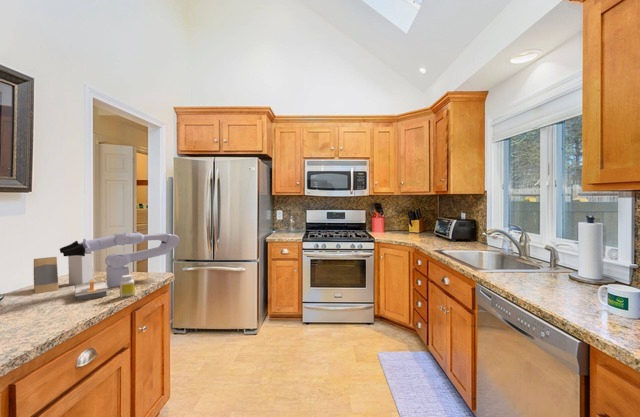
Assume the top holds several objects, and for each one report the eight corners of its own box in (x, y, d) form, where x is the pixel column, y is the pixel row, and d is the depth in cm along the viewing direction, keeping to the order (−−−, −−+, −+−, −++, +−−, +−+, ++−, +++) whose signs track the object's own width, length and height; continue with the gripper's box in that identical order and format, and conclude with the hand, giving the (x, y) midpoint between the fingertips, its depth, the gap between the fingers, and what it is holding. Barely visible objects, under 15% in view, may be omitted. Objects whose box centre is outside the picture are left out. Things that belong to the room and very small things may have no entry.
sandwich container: (33, 296, 130) (32, 263, 129) (34, 288, 140) (33, 258, 140) (59, 291, 136) (58, 260, 135) (57, 285, 146) (56, 256, 146)
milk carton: (82, 284, 146) (81, 248, 146) (68, 284, 146) (67, 248, 146) (93, 281, 153) (92, 246, 153) (80, 281, 153) (79, 246, 153)
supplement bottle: (137, 296, 128) (137, 275, 128) (124, 300, 123) (124, 277, 123) (130, 294, 130) (129, 273, 130) (117, 298, 125) (116, 276, 125)
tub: (104, 289, 138) (103, 282, 138) (106, 297, 127) (106, 289, 127) (76, 294, 131) (76, 286, 131) (77, 302, 121) (77, 294, 121)
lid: (105, 283, 139) (105, 273, 138) (108, 291, 126) (108, 280, 125) (75, 288, 131) (74, 277, 131) (75, 297, 118) (75, 285, 118)
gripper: (92, 234, 143) (56, 241, 133) (100, 238, 134) (62, 246, 124) (95, 247, 144) (60, 255, 134) (103, 253, 135) (66, 262, 125)
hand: (61, 252), depth 129 cm, fingers open, 7 cm apart
